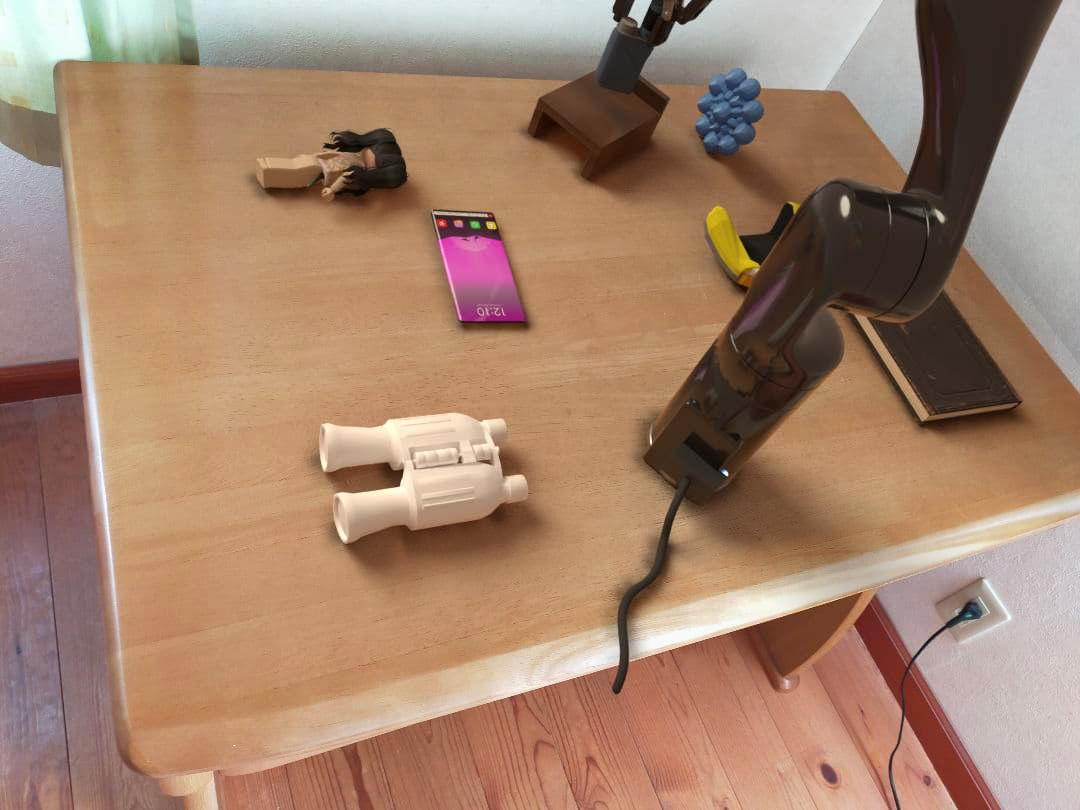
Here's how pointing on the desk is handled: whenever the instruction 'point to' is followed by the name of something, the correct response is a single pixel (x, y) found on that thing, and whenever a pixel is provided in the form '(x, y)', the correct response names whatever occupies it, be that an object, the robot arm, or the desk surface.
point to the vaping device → (627, 51)
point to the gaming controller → (743, 243)
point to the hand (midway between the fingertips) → (636, 31)
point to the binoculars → (421, 472)
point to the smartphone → (477, 267)
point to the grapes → (729, 112)
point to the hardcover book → (939, 364)
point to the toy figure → (341, 165)
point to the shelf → (601, 118)
